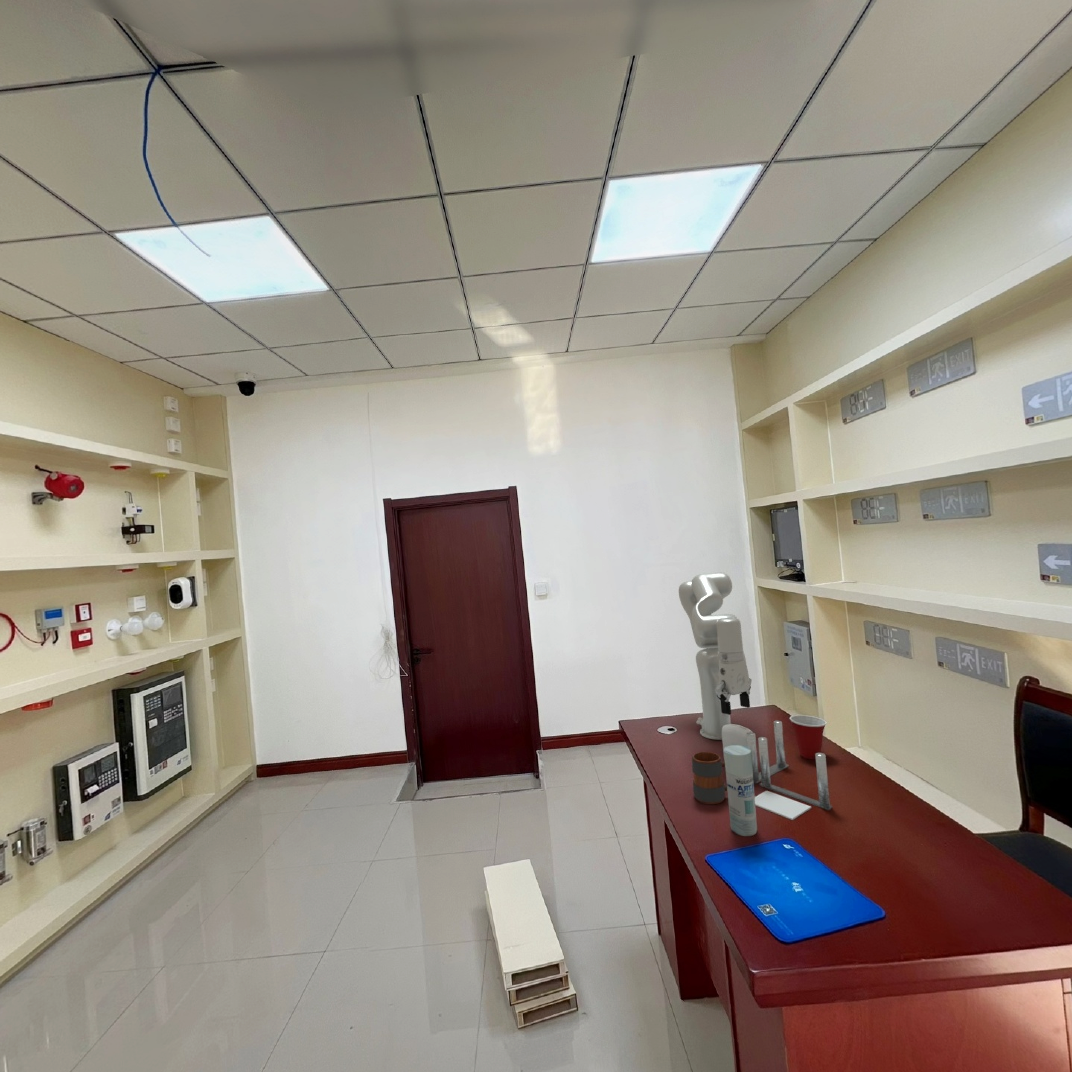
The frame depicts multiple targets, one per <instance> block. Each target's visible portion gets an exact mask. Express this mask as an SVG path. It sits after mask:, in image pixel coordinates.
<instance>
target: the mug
mask: <svg viewBox="0 0 1072 1072" xmlns="http://www.w3.org/2000/svg"><path fill="white" fill-rule="evenodd" d="M691 763H692V765H691V766H692V773H693V780H692V781H693V782H692V786H693V787H692V789H693V790H692V791H693V796H694V797H695V799H696V801H698V802H700V803H702V804H705V805H706V804H707V805H718V804H721V803H722V802H723V801H724V800H725V798H726V792H728V791H727V783H726V784H725V782H724V780H723V768H725V761H722V758H721V756H720V755H719V754H717V753H715V752H710V751H699V752H696V753H694V754H693V755H692V756H691Z"/></svg>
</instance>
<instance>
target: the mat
mask: <svg viewBox="0 0 1072 1072" xmlns="http://www.w3.org/2000/svg"><path fill="white" fill-rule="evenodd" d="M755 807H757V808H760V809H763V810H766V811H768V812H770V813H771V812H772V813H773V814H776V815H779V816H780V817H784V818H786V819H788V820H791V821H794V820H795V819H797V818H798V817H800V816H802V815H803V814H804V813H806V812H807V811H810V810H811V809H812V806H811V805H807V804H805V803H802V802H799V801H797V800H794V799H791V798H789V797H786V796H783V795H780V794H777V793H776V792H772V791H770V790H769V791H768V790H765V791H763V792H761V793H759V794H758V795H757V796H756V795H755Z"/></svg>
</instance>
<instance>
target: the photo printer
mask: <svg viewBox="0 0 1072 1072" xmlns="http://www.w3.org/2000/svg"><path fill="white" fill-rule="evenodd" d="M748 732H752V733H754V731H753V730H751V729H749V728H748V727H746V726H742V725H740V724H733V723H731V724H727V725H725V726H723V727H722V740H721V742H722V751H723V753H724V748H725V747H727V746H732V745H739V746H745V747H747V748H748V744H747V733H748ZM723 759H724V760H723V761H725V758H724V757H723Z"/></svg>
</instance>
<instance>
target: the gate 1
mask: <svg viewBox="0 0 1072 1072" xmlns="http://www.w3.org/2000/svg"><path fill="white" fill-rule="evenodd" d="M773 730H774V732H773V733H774V742H775V744H774V745H775V755H776V763H775V764H773V765H771V766H769V769H770V777H771V776H773V775H775V774H777V773H779V772H781V771H784V769H787V768H788V767H789V764H788V763H786V754H785V753H786V752H785V743H784V733H783V732H784V730H783V722H782V721H781V720H774V721H773ZM752 732H753V731H752ZM752 732H748V733H747V744H748V748H749V749H750V750H751V756H752V769H753V782H754V784H758V783H759V784H760V782H762V779H761V771H760V772H759V762H758V754H757V753H758V750H757V740H756V739H757V738H756V732H753V733H752Z"/></svg>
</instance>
